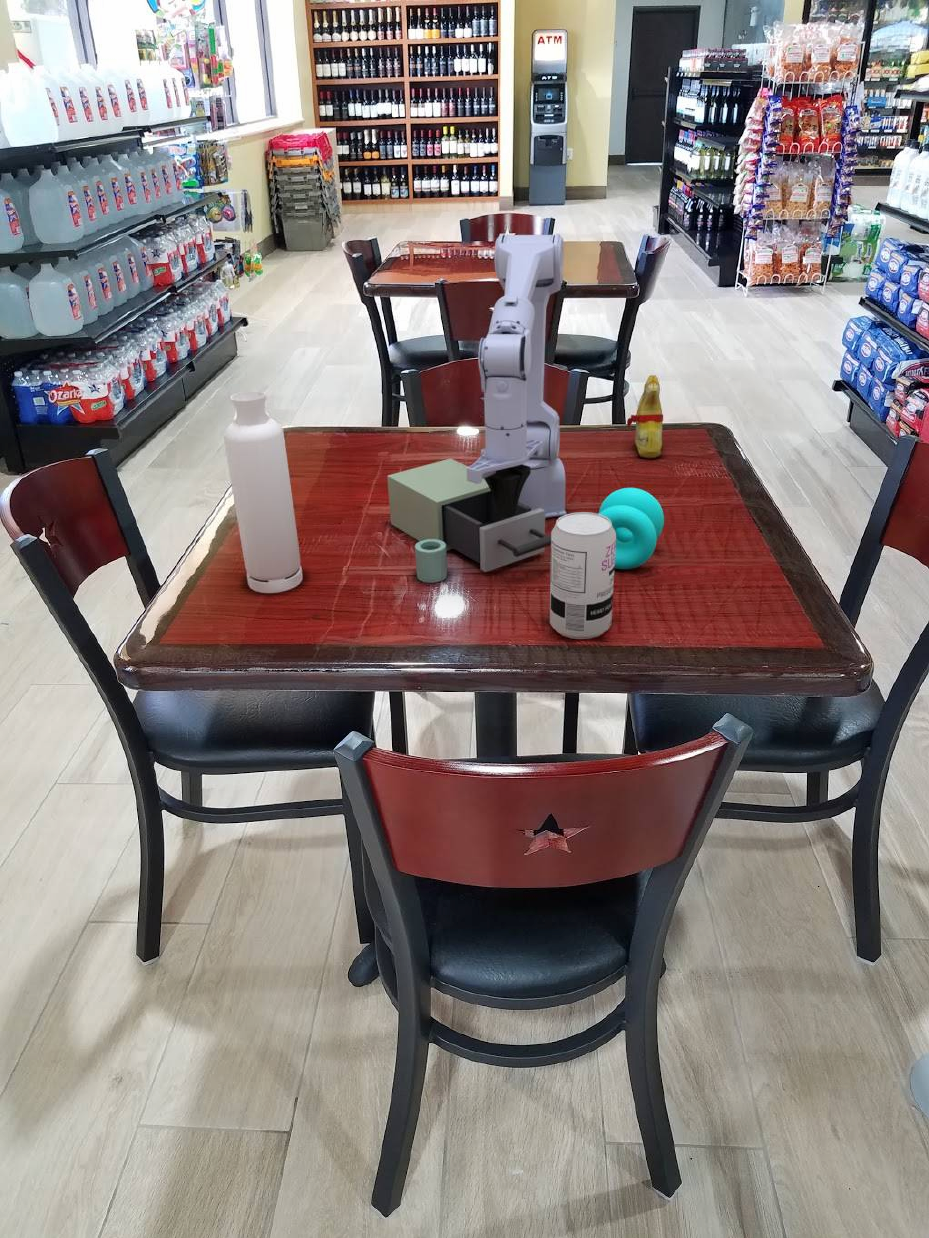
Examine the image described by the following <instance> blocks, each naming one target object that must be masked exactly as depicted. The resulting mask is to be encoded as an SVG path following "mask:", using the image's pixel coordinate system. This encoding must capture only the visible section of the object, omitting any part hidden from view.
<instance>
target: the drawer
mask: <svg viewBox="0 0 929 1238" xmlns="http://www.w3.org/2000/svg"><path fill="white" fill-rule="evenodd" d="M442 526H443V542H445V544H447V545H449V546H450V547H452V548H454V550H455V551H457V552H459V553H461V554H462V555H464V556H466V557H468V558H469V559H471V560H472V561H474V562H475V563H478V564H480V571H482V572H484V573H487V572H490V571H493V570H496V569H499V568H501V567H504V566H507V565H510V564H513V563H515V562H518V561H521V560H524V559H526V558H527V559H528V558H530V557H532V556H535V555H538V554H541V553H544V552H545V550H546V549H545V548H547V547H549V546H551V534H549V535H547V534H546V518H545V510H543V509H541V508H539V509H536V510H533V511H531V508H530V507H528V506H526V505H524V504H522V503H520V502H518V504H517V508H516V512H515V515H514V516H512V517H510V518H506V517H503V516H500V515H498V511H497V508H496V504H495V501H494V498H493V495H492V492H491V491H489V492H485V493H482V494H479V495H475V496H472V497H469V498H466V499H462V500H459V501H456V502H452V503H449V504H446V505H442Z"/></svg>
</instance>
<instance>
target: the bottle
mask: <svg viewBox="0 0 929 1238" xmlns="http://www.w3.org/2000/svg"><path fill="white" fill-rule="evenodd" d="M229 398H230V399H229V400H230V403H231V404H232V405H233V406H234V408H235V409H234V415H233V421H232V422H231V423H230V424H228V426H227V427H226V428H225V430H224V434H223V442H224V447H225V454H226V458H227V465H228V471H229V478H230V483H231V484H230V485H231V490H232V495H233V502H234V507H235V513H236V520H237V526H238V532H239V538H240V545H241V549H242V550H241V551H242V556H243V563H244V569H245V571H246V580H247V585H248V587H249V589H251V590H253V591H254V592H257V593H263V594H278V593H282V592H286V591H289V590H293V589H294V588H296V587H298V585H300V584H301V583H302V581H303V569H302V565H301V554H300V545H299V538H298V532H297V524H296V517H295V507H294V502H293V501H294V500H293V493H292V486H291V477H290V471H289V463H288V462H289V461H288V455H287V449H286V441H285V440H286V439H285V433H284V428H283V426H282V425H281V424H280V423H279V422H278V421H277V420H275V419H273V418H271V417H270V415H269V413H268V412H267V411H266V407H265V405H266V400H267V393H266V392H265V391H261V390H245V391H240V392H239V391H238V392H235V393H233V394H231V395H230V397H229Z"/></svg>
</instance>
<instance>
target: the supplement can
mask: <svg viewBox="0 0 929 1238" xmlns="http://www.w3.org/2000/svg"><path fill="white" fill-rule="evenodd" d="M550 535H551V545H550V580H549V581H550V582H549V583H550V586H549V588H550V591H549V594H550V596H549V624H550V626H551V627H552V628H553V630H555V631H556V633H558V634H559V635H561V636H563V637H566V638H569V639H575V640H590V639H593V638H597V637H600V636H602V635H603V634H605V632H607V631H608V630H609V629H610V627H611V626H612V621H613V620H612V619H613V601H614V585H615V584H614V583H615V582H614V581H615V568H614V566H615V548H616V532H615V530H614V528H613V526H612V524H611V521H610V520H609V519H608V518H607V517H605V516H603V515H600V514H599V513H596V512H589V511H587V512H586V511H581V512H580V511H579V512H577V511H576V512H571V513H566V515H562V516H559V517H558V519H556V522H555V525H554V527H553V528H552V530H551V532H550Z"/></svg>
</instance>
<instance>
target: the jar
mask: <svg viewBox="0 0 929 1238" xmlns="http://www.w3.org/2000/svg"><path fill="white" fill-rule="evenodd" d="M414 553H415V554H414V555H415V570H416V578H417V579H418V581H421V582H423V583H431V584H433V583H439V582H442V581H445V579H447V577H448V556H447V555H448V554H447V551H446V544H445V542H443V541H441V540H436V539H427V540H423V541H418V542H416V543H415V545H414Z"/></svg>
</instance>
